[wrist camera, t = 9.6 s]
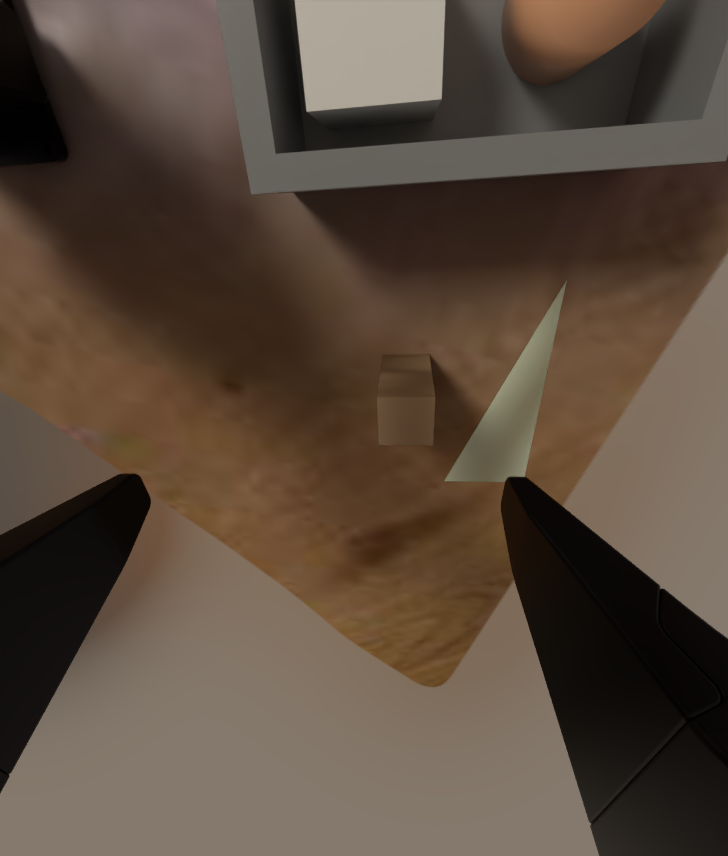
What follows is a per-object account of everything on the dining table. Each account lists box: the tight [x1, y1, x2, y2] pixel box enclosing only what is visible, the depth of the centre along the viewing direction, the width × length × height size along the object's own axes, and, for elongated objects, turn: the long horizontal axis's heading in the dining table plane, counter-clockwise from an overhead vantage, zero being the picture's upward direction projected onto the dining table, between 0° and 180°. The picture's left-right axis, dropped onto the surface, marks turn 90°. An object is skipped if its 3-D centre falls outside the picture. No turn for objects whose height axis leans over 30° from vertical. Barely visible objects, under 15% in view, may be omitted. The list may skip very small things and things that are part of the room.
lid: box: [377, 280, 567, 482], centre depth 19 cm, size 15×15×6 cm
